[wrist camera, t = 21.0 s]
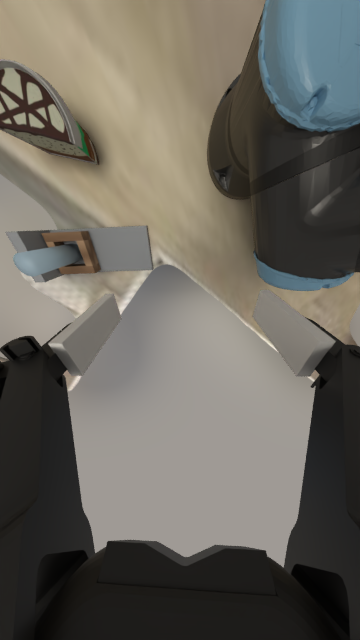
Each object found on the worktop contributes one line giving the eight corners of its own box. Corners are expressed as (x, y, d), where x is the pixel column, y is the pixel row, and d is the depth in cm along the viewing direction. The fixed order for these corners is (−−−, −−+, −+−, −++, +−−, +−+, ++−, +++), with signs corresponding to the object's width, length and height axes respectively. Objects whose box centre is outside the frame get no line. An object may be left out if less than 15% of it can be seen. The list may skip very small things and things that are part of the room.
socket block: (51, 232, 34) (41, 233, 32) (87, 230, 34) (80, 231, 31) (69, 270, 39) (61, 274, 37) (101, 269, 39) (95, 272, 36)
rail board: (43, 230, 35) (4, 232, 28) (147, 225, 34) (136, 225, 27) (62, 271, 41) (35, 282, 33) (153, 268, 40) (145, 279, 32)
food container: (102, 117, 25) (62, 65, 17) (106, 166, 29) (74, 142, 20) (29, 99, 25) (-51, 36, 16) (42, 152, 28) (-19, 121, 20)
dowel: (65, 243, 36) (7, 253, 24) (80, 242, 36) (30, 252, 24) (72, 260, 38) (23, 276, 27) (87, 259, 38) (43, 276, 26)
